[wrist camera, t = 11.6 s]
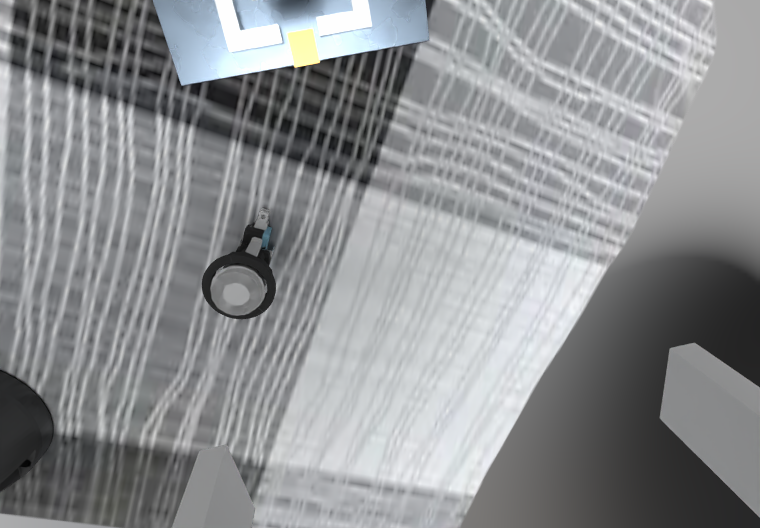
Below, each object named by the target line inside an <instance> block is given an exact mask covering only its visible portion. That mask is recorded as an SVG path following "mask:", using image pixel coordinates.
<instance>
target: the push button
mask: <svg viewBox="0 0 760 528" xmlns="http://www.w3.org/2000/svg"><path fill="white" fill-rule="evenodd" d="M269 213H270V210H268V209H264V208H261V211H260V212H259V216H258V218H257V221H255V223H254V224H253V225H252V226H251V225H248V226H247V227H246V229H245V232H244V236H243V239H242V240H241V243H240V246H239V247H238V249H237V250H236V252H232V253H230V254H228V255H225V256H222V257H220V258H218V259H216V260H215V261H214V262H213V263H211V264H210V266H209V267H208V268H207V270H206V271H205V273H204V276H203V279H202V291H203V294H204V297H205V299H206V301H207V302H208V304H209V305H210V306H211V307H212V308H213V309H214V310H216V311H217V312H218V313H220V314H222V315H224V316H227V317H230V318H234V319H248V318H253V317H256V316H258V315H260V314H262V313H263V312H264V311H266V310H267V309H268V308H269V306H270V305H271V303H272V302H273V299H274V296H275V292H276V283H275V279H274V276H273V274H272V269H271V268H270V267H269V264H270V261H271V258H272V255H273V251H274V247H275V246H274V247H273V250H272V251H270V250H267V246H268V242H269V238H270V234H271V230H272V228H271V227H268V224H269V221H268V217H269ZM263 215H265V216H263ZM224 265H225V266H224ZM222 266H224V268H223V269H222V270H220V271H219V272H218V273H217V274H216V271H217V270H218V269H219V268H220V267H222ZM215 274H216V275H215ZM266 283H267V293H266V294H265V286H266Z"/></svg>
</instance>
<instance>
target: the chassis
mask: <svg viewBox="0 0 760 528" xmlns="http://www.w3.org/2000/svg"><path fill="white" fill-rule="evenodd" d="M153 2H154V5H155V8H156V11H157V14H158V17H159V20H160V23H161V26H162V29H163V32H164V35H165V38H166V41H167V44H168V47H169V50H170V53H171V56H172V59H173V62H174V65H175V68H176V71H177V74H178V76H179V79H180V82H181V85H183V86H186V85H192V84H197V83H202V82H208V81H213V80H219V79H224V78H230V77H235V76H241V75H246V74H252V73H257V72H262V71H268V70H273V69H279V68H284V67H290V66H295V67H300V66H306V65H311V64H317V63H320V62H319V61H322V60H328V59H333V58H339V57H344V56H350V55H355V54H361V53H366V52H372V51H377V50H382V49H388V48H393V47H399V46H404V45H410V44H415V43H421V42H426V41H428V40H429V32H428V23H427V13H426V4H425V0H267V1H262V0H256V1H252V0H153Z"/></svg>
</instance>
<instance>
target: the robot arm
mask: <svg viewBox="0 0 760 528" xmlns="http://www.w3.org/2000/svg"><path fill="white" fill-rule="evenodd" d="M660 419H661V420H662V421H663V422H664V423H665V424H666V425H667V426H668V427H669V428H670V429H671V430H672V431H673V432H674V433H675V434H676V435H677V436H678V437H680V439H681V440H682V441H683V442H684V443H685V444H686V445H687V446H688V447H689V448H690V449H691V450H692V451H693V452H694V453H695V454H696V455H697V456H698V457H699V458H700V459H701V460H703V462H704V463H705V464H706V465H707V466H708V467H709V468H711V469H712V471H713V472H714V473H716V474H717V475H718V476H719V477H720V478H721V479H722V480H723V481H724V482H725V483H726V484H727V485H728V486H729V487H730V488H731V489H732V490H733V491H734V492H735V493H736V494H737V495H738V496H739V497H740V498H741V499H742V500H743V501H744V502H745V503H746V504H747V505H748V506H749V507H750V508H751V509H752V510H753V511H754V512H755V513H756V514H757V515H758V516H759V517H760V388H759V387H758V386H756V385H755V384H754V383H752V382H751V381H749V380H748V379H746V378H745V377H743V376H742V375H740V374H739V373H738V372H736V371H735V370H733V369H732V368H730V367H729V366H727V365H726V364H725V363H722V361H720V360H719V359H717V358H716V357H714V356H713V355H712V354H710V353H709V352H707V351H706V350H704V349H703V348H701V347H700V346H698V345H697V344H696V343H693V344H687V345H683V346H678V347H674V348H670V351H669V358H668V365H667V372H666V379H665V387H664V393H663V400H662V407H661V414H660ZM52 435H53V425H52V420H51V417H50V414H49V412H48V410H47V408H46V406H45V405H44V403H43V402H42V401H41V400H40V398H39V397H38V396H37V395H36V394H35V393H34V392H33V391H32V390H31V389H29V388H28V387H27V386H26V385H24V384H23V383H22V382H20V381H18V380H17V379H15V378H13V377H12V376H10V375H8V374H6V373H4V372H1V371H0V492H2V491H3V490H5V489H6V488H7V487H9V486H10V485H12V484H13V483H14V482H16V481H17V480H19V479H20V478H21V477H23V476H24V475H25V474H26V473H28V472H29V471H30V470H31V469H32V468H33V466H34V465H35V464H36V463H37V462H38V460H39V459H40V458H41V456H42V455H43V454H44V453H45V451H46V450H47V449H48V447H49V445H50V443H51V440H52ZM254 512H255V507H254V505H253V503H252V501H251V498H250V496H249V494H248V492H247V489H246V487H245V485H244V483H243V480H242V478H241V476H240V473H239V471H238V469H237V467H236V464H235V462H234V460H233V458H232V455H231V453H230V451H229V448H228V446H227V445H222V446H218V447H213V448H208V449H204V450H200V451H199V454H198V456H197V459H196V462H195V465H194V468H193V470H192V473H191V476H190V479H189V481H188V484H187V487H186V490H185V493H184V495H183V498H182V501H181V504H180V506H179V509H178V512H177V515H176V518H175V520H174V523H173V526H172V528H252V524H253V518H254Z"/></svg>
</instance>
